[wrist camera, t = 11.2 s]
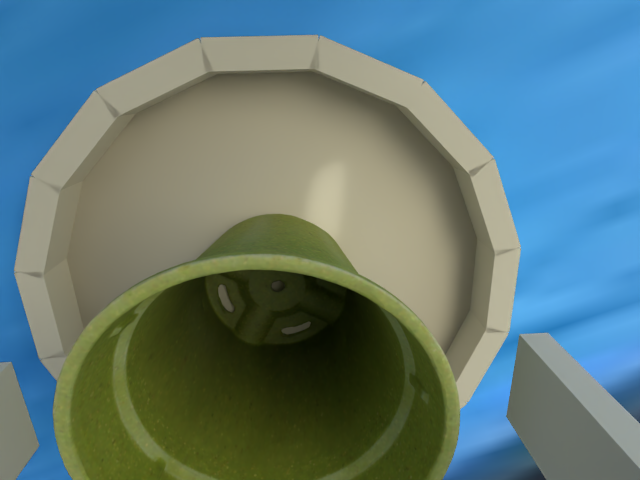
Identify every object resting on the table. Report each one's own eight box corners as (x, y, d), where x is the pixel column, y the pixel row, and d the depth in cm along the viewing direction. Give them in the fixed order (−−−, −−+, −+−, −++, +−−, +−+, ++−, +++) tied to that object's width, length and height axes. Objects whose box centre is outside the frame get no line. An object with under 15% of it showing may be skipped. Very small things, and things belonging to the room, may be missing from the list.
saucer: (0, 50, 15) (-53, 43, 13) (513, 38, 16) (551, 29, 14) (103, 457, 22) (80, 501, 19) (469, 431, 23) (489, 471, 20)
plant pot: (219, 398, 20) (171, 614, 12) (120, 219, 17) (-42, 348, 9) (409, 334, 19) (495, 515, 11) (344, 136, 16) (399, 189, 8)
